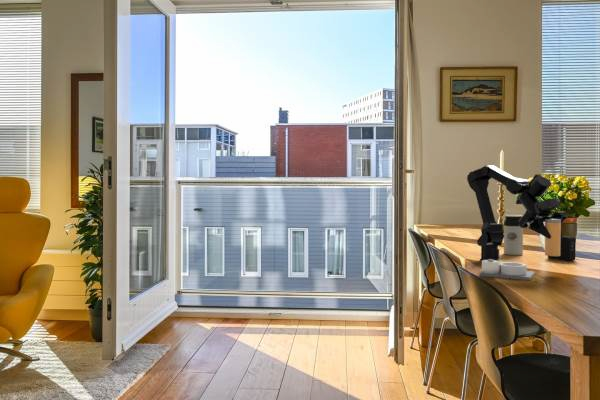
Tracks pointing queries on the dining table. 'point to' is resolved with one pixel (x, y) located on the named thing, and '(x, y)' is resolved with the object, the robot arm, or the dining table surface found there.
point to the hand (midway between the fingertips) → (555, 237)
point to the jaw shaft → (553, 237)
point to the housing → (505, 270)
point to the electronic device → (566, 249)
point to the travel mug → (513, 235)
